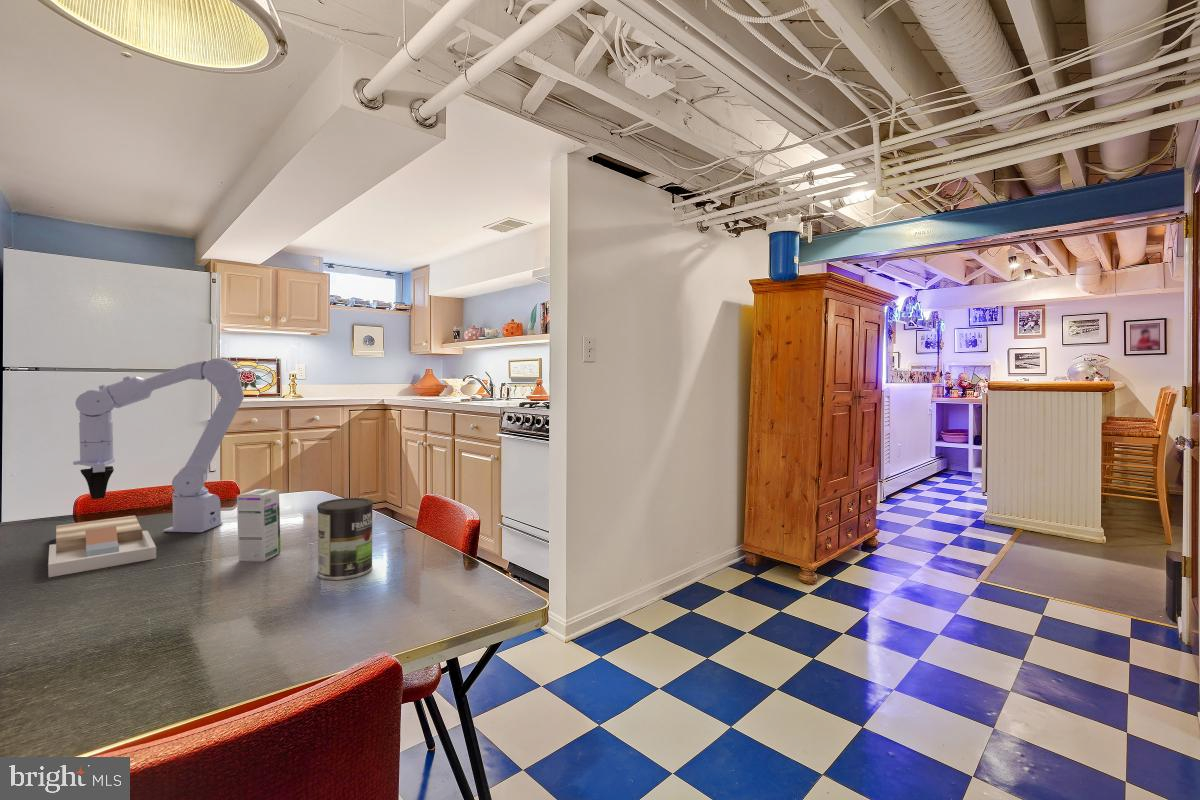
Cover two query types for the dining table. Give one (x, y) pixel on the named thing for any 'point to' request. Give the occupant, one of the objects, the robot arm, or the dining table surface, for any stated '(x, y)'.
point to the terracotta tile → (101, 535)
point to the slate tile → (102, 548)
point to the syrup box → (258, 525)
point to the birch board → (74, 534)
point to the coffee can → (344, 538)
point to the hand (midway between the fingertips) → (97, 498)
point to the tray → (100, 557)
